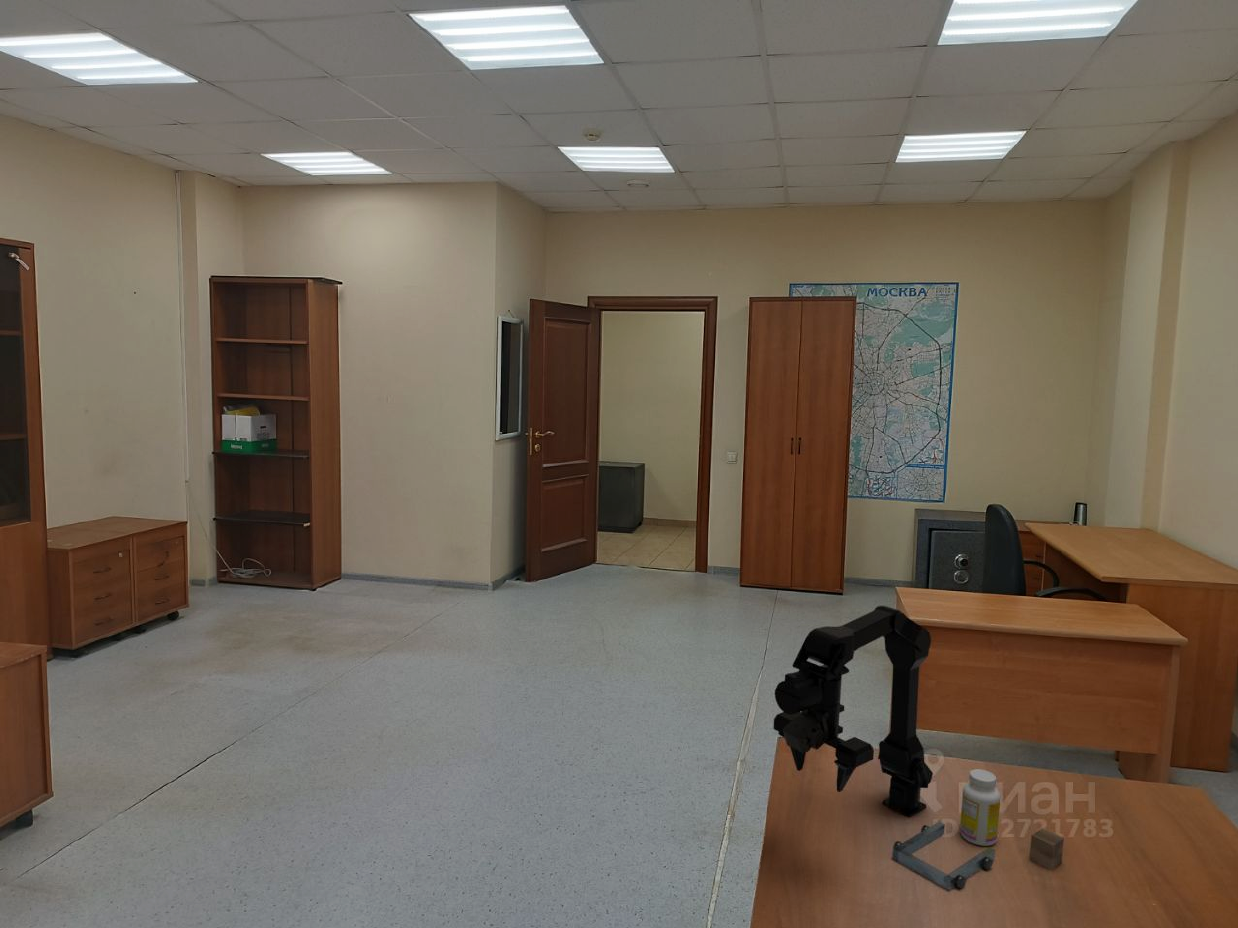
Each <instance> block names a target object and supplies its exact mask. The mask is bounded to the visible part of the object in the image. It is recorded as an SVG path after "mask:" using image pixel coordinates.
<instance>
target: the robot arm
mask: <svg viewBox="0 0 1238 928" xmlns="http://www.w3.org/2000/svg"><path fill="white" fill-rule="evenodd" d="M881 638H883V639H884V641H883V642H884V650H885V651H884V652H885V654H886V655H887V657H888V658H889V661H890V662H891V665H892V675H891V677H892V678H891V679H892V680H891V682H892V683H891V699H890V700H891V702H890V723H889V724H890V725H889V726H890V729H889V732H888V734H887V735H886V736H885V738H883V740H881V741H879V743H878V747H879V748H878V750H879V751H878V755H877V759H878V760H879V764H880V768H881V772H882V773H883V774H885V775H888V776H890V781H889V790H888V797H886V798H885V799H882V802H881V804H882V805H884V806H887V807H888V808H890V809H892V810H894V811H895V812H898V813H900V814H901V815H903V816H905V817H909V818H910V817H912V816H914V815H915V814H917V813H919V812H920V811H923V810H925V809H926V808H927V805H926V803H924V802H921V789H927V788H929V784H931V782H932V778H933V774H934V773H933V771H932V770H931V769H930V767H929V766H928V764H927V763H926V762H925V750H924V747H923V744H922V743H921V741H920V739H919V737H918V735H917V721H918V720H917V719H918V718H917V717H918V698H919V697H918V696H919V694H918V693H919V678H920V677H919V676H920V666H921V665H922V664H923V663H924V661H925V660H926V659H927V658H928V657H929V653H930V647H931V643H932V638H931V633H930V631H928V629H927V628H925V627H923V626H921V625H920V624H918V623H917V622H915V621H913V620H912V619H910V618H909V617H908V616H907V615H906V614H905V613H904V612H902V611H901V610H899V609H897V608H896V609H895V608H892V607H889V606H887V605H878V606H877V607H875V608H874V609H873V610H872V611H870V612H868V613H865V614H864V615H862V616H861V615H860V616H859V617H857V618H856V619H853V620H850V621H849V622H847V623H845V624H843V625H842V624H841V625H839V626H829V625H828V626H820V627H816V628H814V629H812V630H811V631H809V633H808V634H807V636H806V637H805V639H804V641H803V643H802V645H801V647H800V649H799V651H798V653H797V655H796V657H795V659H794V661H793V663H792V668H794V669H796V670H798V671H794V672H789V673H788V672H787V673H786V674H785V675H784V680H782V681H780V682H778V684H777V685H776V688H775V689H774V698H775V702H776V704H777V706H778V707H779V709H780V710H781V712H779V713H777V714H776V715H775V716H774V718H773V724H772V725H773V726H772V727H773V730H774V731H777V732H778V735H779V736H780V737H782V738H783V739H784V740H785V743H786V744H785V745H786V746H787V747H789V748H790V751H791V755H792V758H793V761H794V765H795V767H796V771H798V772H800V771H802V770H803V767H804V765H805V761H806V754H807V753H808V752H809V751H810V750H811V749H813V750H815V751H816V750H819V749H820V748H821V747H822V746H824V745H827V746H829V747H832V748H833V749H835V752H834V753H835V754H834V755H835V758H836V759H834V760H833V763H834V764H835V765H836V767H837V771H836V791H837V793H840V792H843V790H844V789H845V787H846V785H847V783H848V782H849V780H850V778H851V776H852V775H853V773H854V771H855V770H856V768H858V767H860V766H863V765H864V764H866V763H869V762H871V761H873V760H874V756H875V755H874V753H875V751H874V746H873V745H872V744H871V743H869V742H867V741H865V740H862V739H860V738H858V737H856V736H853V737H851V738H848V739H846V740H844V739H842V738H840V737H839V735H840V734H842V733H843V732H844V726H841V725H840V715H841V714H840V713H843V712H845V704H841V693H842V680H843V678H842V677H843V675H846V674H849V673H850V669H849V668H848V667H847V666H846V665H847V664H848V663H849V662H850V661H852V660H853V659H854V657H855V652H856V651H857V650H859V649H860V648H863V647H865V646H866V645H868V644H870V643H872V642H874V641H876V640H878V639H881ZM808 660H812V661H814V662H816V663H813V662H811V661H808ZM817 663H819V664H821V665H819V664H817Z"/></svg>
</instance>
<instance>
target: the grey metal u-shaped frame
mask: <svg viewBox="0 0 1238 928" xmlns="http://www.w3.org/2000/svg"><path fill="white" fill-rule="evenodd" d="M945 824H946V823H943V822H941V821H938V822H936V823H934V824H933V825H931V826H929V825H926V824H924V825H922V827H921V829H920V832H919V833H917V834H915V835H913V836H912V837H910V838H909V839H907V840H905V841H903V842H901V841H899V840H896V841H895V842H894V844H893V847H892V857H891V858H892V859H893V860H894V861H896V862H897V863H899V864H901V865H903V866H905V867H906V868H909V869H910V870H912V871H913V872H915V873H917V874H918V875H920V876H922V877H924V878H926V879H927V880H929V881H931V882H932V883H934V884H935V885H938V886H940V887H942V888H943V889H945V890H947V891H949V892H950V891H951V890H953V889H954V888H956V887H957V888H959V889H960V890H962V889H964V887H965V886H966V884H967V879H969V878H971V877H973V875H974V874H976V873H977V872H979V871H981V870H982V869H983V868H984V869H985V870H987V871H990V870H991V869H992V867H993V864H994V861H995V860H996V859H995V858H996V849H995V848H992V847H991V846H988V847H986V848H985V849H984V850H982V851H981V852H979V853H978V854H976V855H975V856H973V857H971V858H970V859H968V860H967V861H966V862H964V863H963V864H961V865H959V866H958V867H956V868H955V869H954V870H952V871H951V872H949V873H948V874H947V873H946V872H944V871H942V870H941V869H938V868H937V867H935V866H934V865H931V864H930V863H927V862H926V861H925V860H922V859H920V858H919V857H917V856H916V855H913V853H915V852H916V851H919V850H920V849H922V848H923V847H925V846H927V845H929V844H930V843H931V842H933V841H935V840H936V839H939V838H940V837H941V836H943V835H944V834H945V827H946V825H945Z"/></svg>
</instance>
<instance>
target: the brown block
mask: <svg viewBox="0 0 1238 928" xmlns="http://www.w3.org/2000/svg"><path fill="white" fill-rule="evenodd" d="M1064 841H1065V837H1062V836H1060V835H1058V834H1056V833H1054V832H1052V831H1049V830H1047V829H1045V828H1044V827H1042V828H1039V830H1037V831H1035V832H1034V833H1032V834H1031V838H1030V847H1029V848H1030V849H1029V859H1028V860H1029V861H1030V862H1032V863H1034V864H1037V865H1039V866H1041V867H1043V868H1044V869H1047V870H1048V871H1050V872H1052V871H1053V870H1055V868H1056V867H1058V866H1059V865H1061V864H1062V861H1063V851H1064Z"/></svg>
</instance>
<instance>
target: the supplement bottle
mask: <svg viewBox="0 0 1238 928" xmlns="http://www.w3.org/2000/svg"><path fill="white" fill-rule="evenodd" d="M968 779H969V781H968V782H966V783H965V784H964V785H963V787H962V797H961V798H962V799H961V812H960V822H959V823H960V824H959V825H960V826H959V833H960V835H961V836H962V837H963V839H964V840H966V841H968V842H969V843H971V844H973V845H977V846H983V847H986V846H988V847H990V846H992V845H994V844H996V842H997V840H998V835H999V834H998V833H999V821H1000V809H1001V793H1000V791H999V789H998V788H997V787H996V784H997V777H996V775H995V774H993V773H992V772H991V771H988V770H984V769H980V768H978V769H972V770H970V772H969V776H968Z"/></svg>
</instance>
